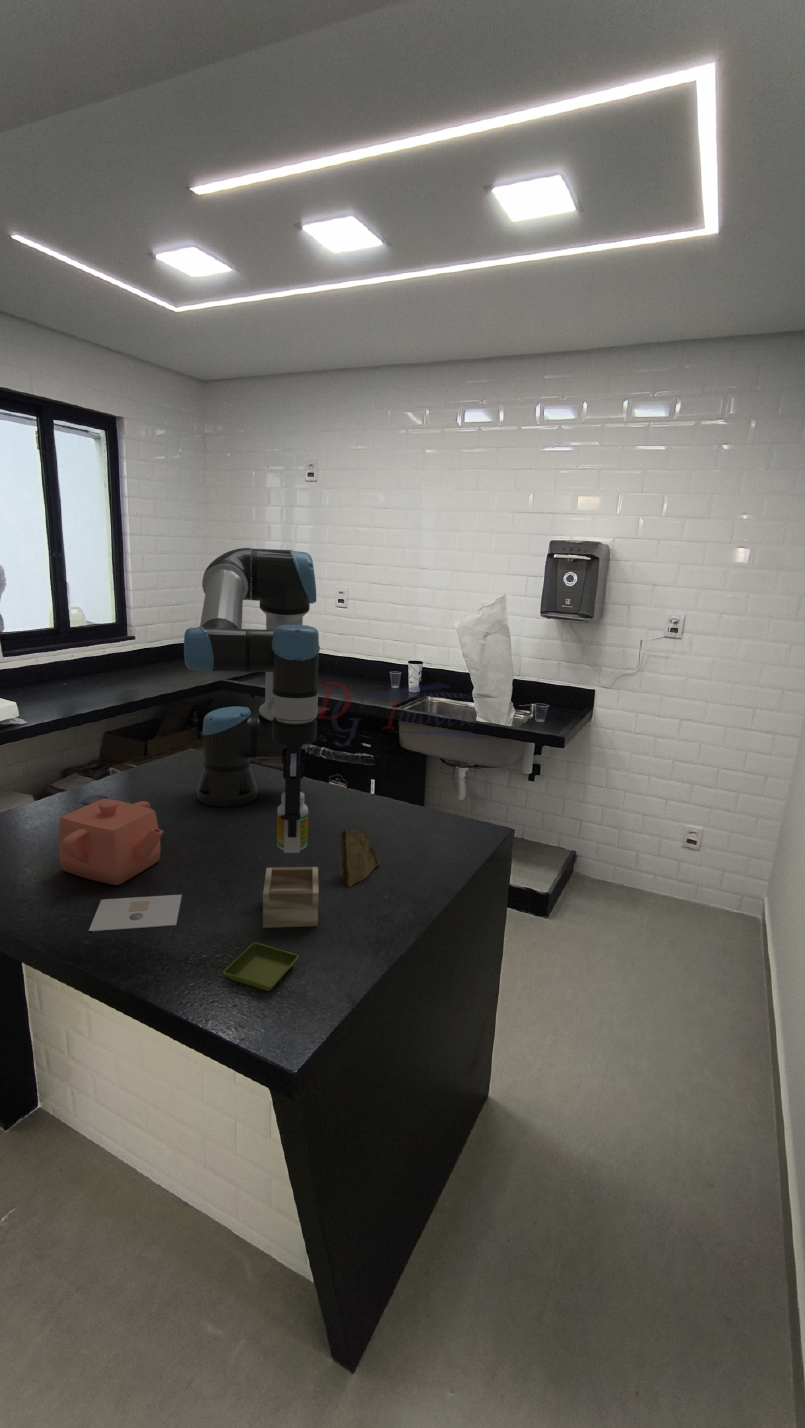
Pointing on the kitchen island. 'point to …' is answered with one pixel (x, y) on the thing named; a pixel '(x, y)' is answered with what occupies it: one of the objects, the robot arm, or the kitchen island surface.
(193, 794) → the kitchen island surface
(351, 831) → the rock
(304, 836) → the supplement bottle
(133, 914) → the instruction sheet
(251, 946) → the green tray
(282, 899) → the wooden crate
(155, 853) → the teapot
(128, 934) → the kitchen island surface
